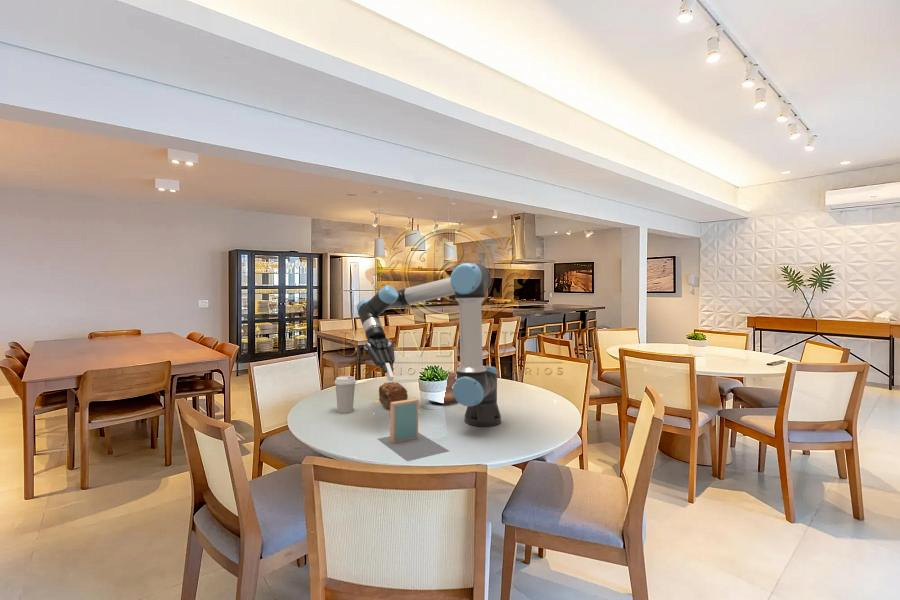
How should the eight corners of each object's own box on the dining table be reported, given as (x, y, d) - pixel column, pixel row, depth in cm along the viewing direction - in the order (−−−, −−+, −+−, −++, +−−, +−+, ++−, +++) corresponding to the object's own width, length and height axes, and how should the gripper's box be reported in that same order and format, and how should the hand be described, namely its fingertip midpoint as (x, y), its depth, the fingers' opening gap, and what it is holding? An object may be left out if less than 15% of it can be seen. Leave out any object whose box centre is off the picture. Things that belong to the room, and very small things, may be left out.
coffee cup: (350, 414, 187) (350, 380, 187) (330, 413, 189) (330, 379, 189) (359, 408, 196) (359, 376, 196) (340, 407, 198) (340, 375, 198)
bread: (408, 408, 197) (408, 387, 197) (384, 410, 194) (384, 388, 194) (399, 398, 215) (399, 379, 215) (378, 400, 212) (378, 380, 211)
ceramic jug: (427, 407, 200) (428, 376, 200) (424, 399, 215) (424, 370, 214) (465, 405, 203) (465, 375, 203) (459, 397, 218) (459, 369, 217)
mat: (376, 439, 156) (376, 438, 156) (415, 432, 165) (415, 431, 165) (407, 462, 136) (407, 461, 136) (449, 452, 145) (449, 451, 145)
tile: (390, 441, 154) (390, 402, 154) (414, 436, 159) (415, 398, 159) (393, 443, 152) (393, 404, 151) (418, 438, 157) (418, 400, 157)
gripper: (386, 336, 184) (403, 382, 170) (356, 338, 177) (372, 386, 163) (391, 324, 179) (409, 371, 165) (361, 326, 172) (378, 374, 158)
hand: (391, 378), depth 164 cm, fingers closed
